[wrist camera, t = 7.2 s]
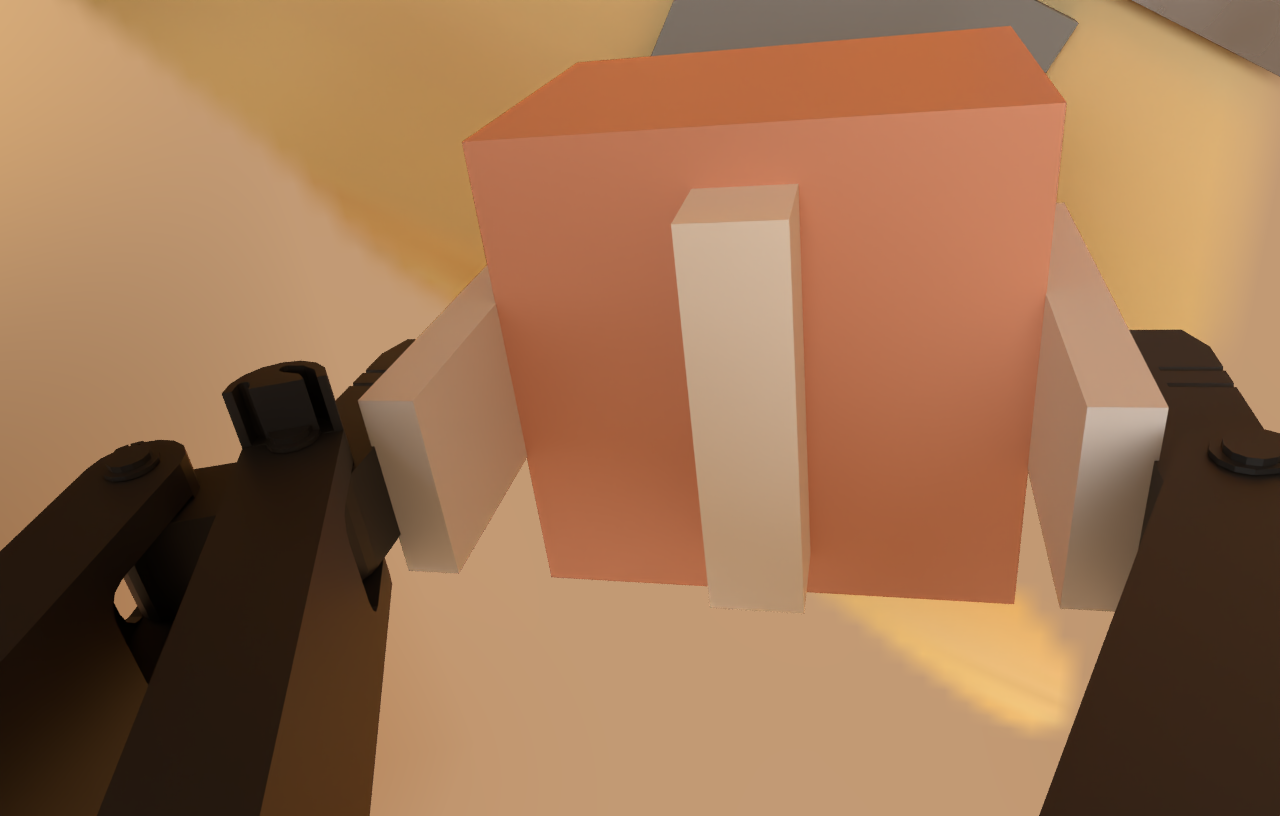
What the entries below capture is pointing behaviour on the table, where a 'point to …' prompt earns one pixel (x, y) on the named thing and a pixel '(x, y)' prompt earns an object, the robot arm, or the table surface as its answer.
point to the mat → (853, 22)
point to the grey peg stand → (1230, 25)
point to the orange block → (779, 312)
